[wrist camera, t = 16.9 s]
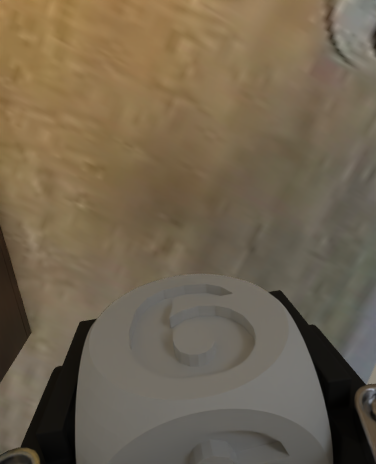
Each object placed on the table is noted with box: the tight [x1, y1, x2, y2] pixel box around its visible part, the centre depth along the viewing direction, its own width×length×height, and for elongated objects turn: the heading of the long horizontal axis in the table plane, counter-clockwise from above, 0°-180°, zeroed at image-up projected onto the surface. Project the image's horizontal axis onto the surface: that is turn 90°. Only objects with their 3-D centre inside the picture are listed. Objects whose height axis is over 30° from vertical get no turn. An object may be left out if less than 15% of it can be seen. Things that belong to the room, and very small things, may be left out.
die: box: [75, 274, 333, 464], centre depth 8 cm, size 5×5×5 cm
